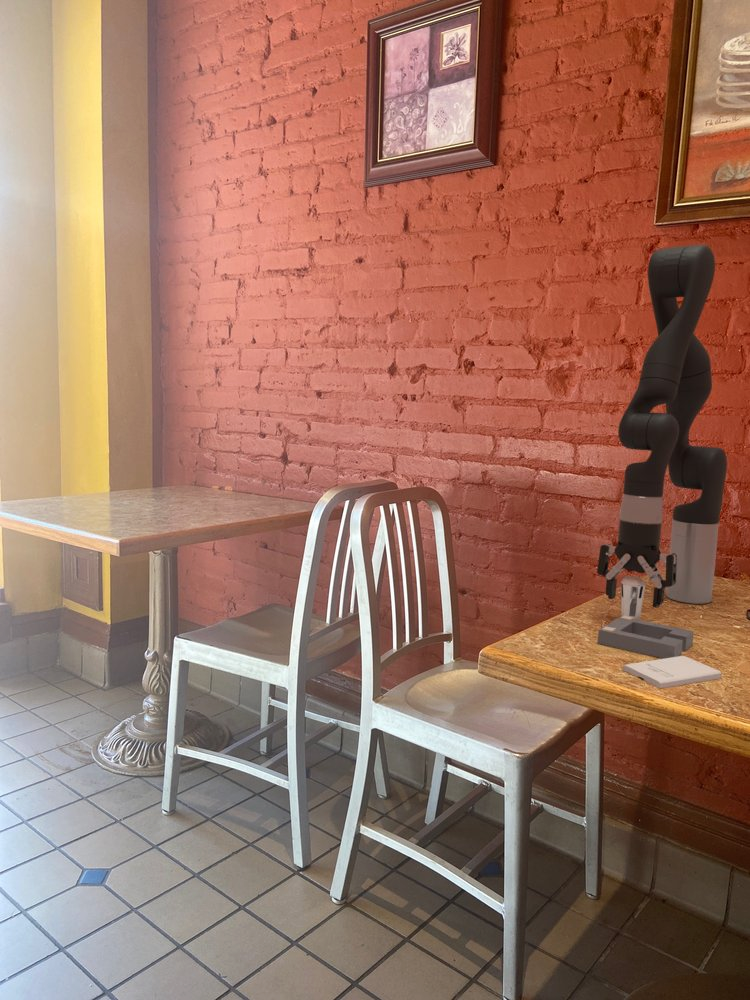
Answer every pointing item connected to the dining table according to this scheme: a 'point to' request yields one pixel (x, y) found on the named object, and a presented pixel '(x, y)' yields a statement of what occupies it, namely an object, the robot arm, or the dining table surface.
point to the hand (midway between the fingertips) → (633, 602)
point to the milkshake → (632, 596)
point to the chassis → (645, 637)
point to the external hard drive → (672, 671)
